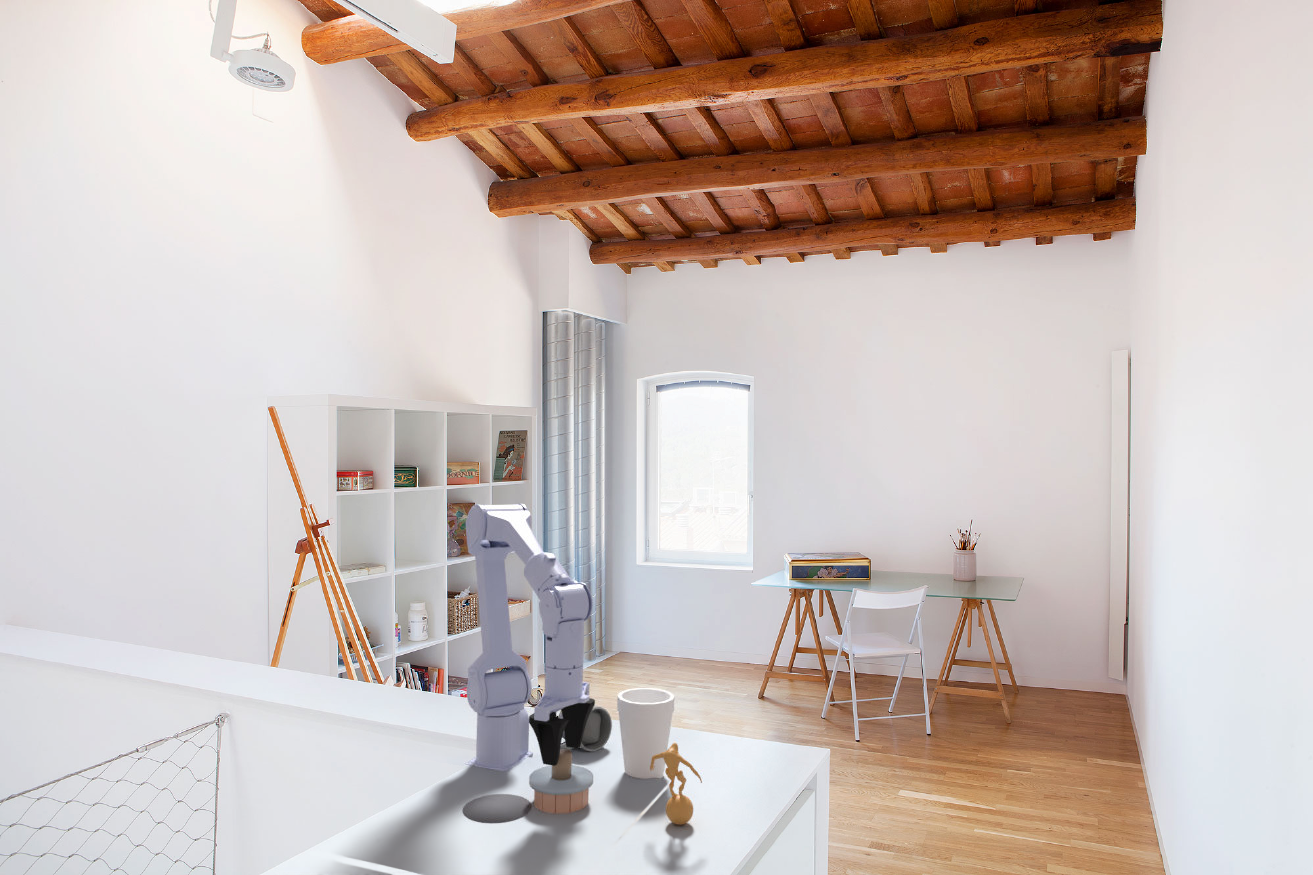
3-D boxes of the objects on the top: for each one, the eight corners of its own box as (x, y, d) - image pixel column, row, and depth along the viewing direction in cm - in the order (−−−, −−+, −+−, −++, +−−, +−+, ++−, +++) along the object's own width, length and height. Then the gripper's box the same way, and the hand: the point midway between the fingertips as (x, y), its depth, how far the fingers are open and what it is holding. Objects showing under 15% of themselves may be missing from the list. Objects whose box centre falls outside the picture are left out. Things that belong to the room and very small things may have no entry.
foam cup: (639, 760, 142) (640, 684, 142) (683, 772, 136) (684, 694, 137) (604, 776, 134) (606, 697, 134) (650, 790, 128) (651, 707, 129)
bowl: (549, 791, 127) (550, 768, 128) (596, 799, 125) (596, 776, 125) (524, 811, 120) (524, 787, 120) (573, 820, 117) (573, 796, 117)
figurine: (711, 825, 117) (712, 740, 117) (692, 841, 112) (693, 753, 112) (660, 811, 121) (662, 730, 121) (640, 827, 116) (641, 741, 116)
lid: (546, 766, 129) (546, 738, 129) (602, 774, 126) (603, 746, 126) (517, 789, 119) (518, 759, 120) (578, 798, 117) (578, 768, 117)
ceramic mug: (585, 734, 154) (585, 693, 154) (612, 746, 148) (613, 703, 148) (538, 748, 147) (538, 705, 147) (565, 760, 141) (565, 716, 141)
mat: (486, 793, 126) (486, 789, 126) (543, 804, 123) (543, 800, 123) (448, 819, 117) (448, 815, 117) (509, 832, 113) (509, 827, 113)
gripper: (566, 679, 115) (564, 776, 114) (607, 656, 128) (605, 743, 128) (522, 673, 117) (519, 769, 117) (567, 652, 131) (565, 737, 130)
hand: (561, 755), depth 123 cm, fingers open, 7 cm apart
